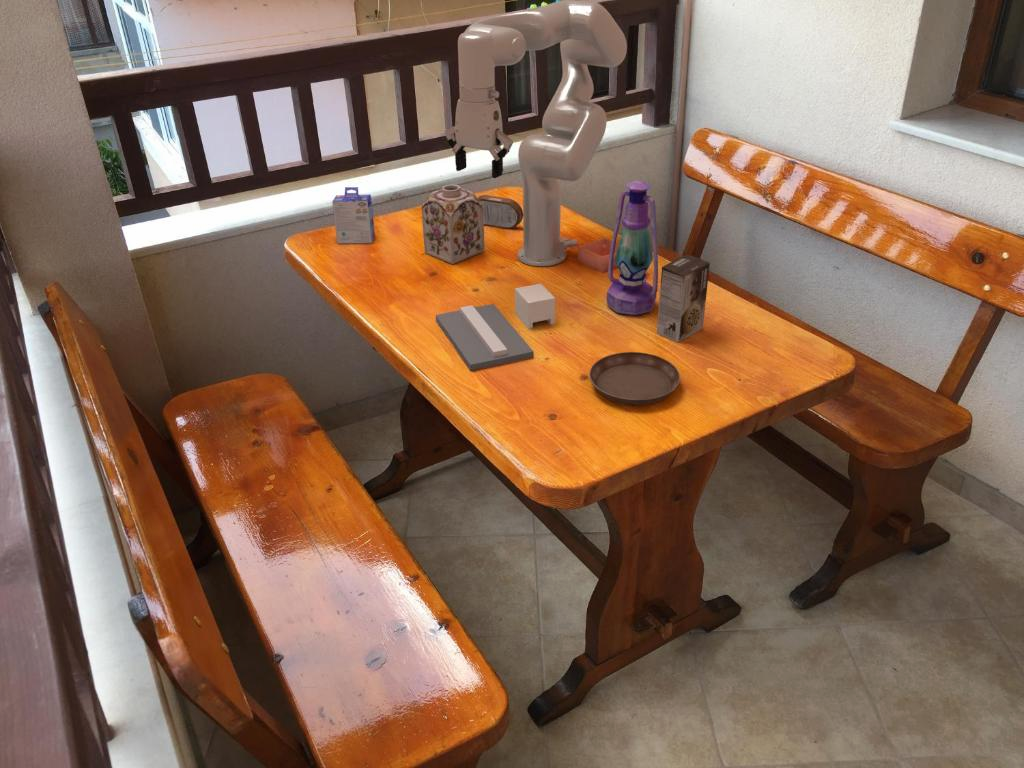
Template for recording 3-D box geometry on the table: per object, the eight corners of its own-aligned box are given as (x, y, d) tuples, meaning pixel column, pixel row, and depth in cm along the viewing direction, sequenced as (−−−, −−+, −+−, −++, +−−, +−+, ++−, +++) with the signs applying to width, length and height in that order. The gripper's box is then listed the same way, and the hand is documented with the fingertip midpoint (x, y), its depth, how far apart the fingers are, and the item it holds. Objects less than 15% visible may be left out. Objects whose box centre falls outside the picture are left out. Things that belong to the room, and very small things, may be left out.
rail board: (493, 309, 200) (493, 299, 198) (533, 357, 181) (533, 346, 179) (435, 320, 195) (435, 310, 194) (470, 371, 176) (470, 359, 175)
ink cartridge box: (376, 236, 239) (370, 185, 231) (373, 244, 234) (367, 192, 226) (340, 236, 239) (334, 185, 231) (337, 244, 234) (330, 193, 226)
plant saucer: (616, 420, 161) (617, 407, 159) (573, 375, 175) (573, 362, 173) (696, 398, 167) (697, 385, 165) (648, 357, 181) (649, 344, 179)
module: (540, 309, 200) (540, 283, 196) (554, 324, 193) (555, 297, 190) (515, 314, 198) (514, 288, 194) (528, 329, 191) (528, 303, 188)
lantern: (593, 306, 200) (597, 180, 184) (622, 289, 207) (629, 167, 192) (639, 323, 193) (648, 194, 177) (668, 305, 200) (680, 180, 184)
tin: (523, 228, 242) (523, 199, 237) (519, 232, 240) (518, 203, 235) (475, 220, 247) (474, 192, 243) (470, 224, 245) (469, 196, 240)
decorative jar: (486, 252, 228) (483, 186, 218) (453, 265, 221) (449, 198, 211) (455, 240, 235) (452, 176, 225) (423, 253, 228) (418, 187, 219)
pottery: (577, 262, 222) (578, 226, 217) (604, 252, 227) (606, 217, 222) (627, 285, 210) (629, 247, 205) (654, 274, 215) (657, 237, 210)
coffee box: (679, 319, 194) (686, 253, 185) (703, 328, 190) (711, 261, 182) (654, 333, 189) (660, 265, 180) (679, 343, 185) (685, 274, 176)
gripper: (520, 95, 182) (520, 174, 191) (454, 86, 190) (457, 162, 199) (501, 102, 177) (502, 184, 186) (434, 92, 185) (437, 171, 194)
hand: (479, 172), depth 192 cm, fingers open, 9 cm apart
